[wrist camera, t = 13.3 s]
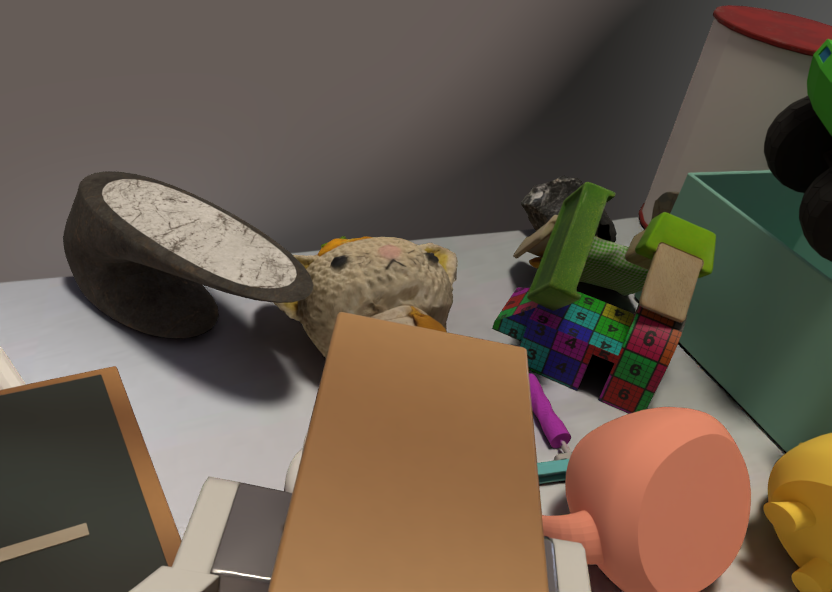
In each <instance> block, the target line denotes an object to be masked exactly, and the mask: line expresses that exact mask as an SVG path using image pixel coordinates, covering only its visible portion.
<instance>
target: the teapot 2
mask: <svg viewBox="0 0 832 592" xmlns="http://www.w3.org/2000/svg"><path fill="white" fill-rule="evenodd" d="M763 509H764V513H765V515H766V517H767V518H768V520H769V521H770V522H771V523H772V524H773V526H774V529H775V531H776V533H777V535H778V538H779V540H780V541H781V543H782V545H783V546H784V548H785V549H786V551H787V552H788V554H789V555H790V557H791V558H792V559H793V560H794V562H795V563H796V564H797V565H798V566H799V567H800V568H799V569H798V570H796V571H795V572H794V573H793V574H792V581H793V583H794V585H795V586H796V587H797V589H798V590H799V591H800V592H832V433H828V434H825V435H821V436H818V437H815V438H813V439H810V440H808V441H806V442H804V443H799V445H798V446H796V447H795V448H793V449H791V450H790V451H788V452H787V453H786V454H785V455H783V456H782V457H781V458H780V459H779V460H778V461H777V462H776V463H775V465H774V467H773V469H772V471H771V474H770V477H769V481H768V503H766V504H765V505H764V508H763Z"/></svg>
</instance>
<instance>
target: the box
mask: <svg viewBox="0 0 832 592" xmlns="http://www.w3.org/2000/svg"><path fill="white" fill-rule="evenodd" d="M803 195H804V193H800V192H796V191H794V190H792V189H790V188H788V187H786V186H784V185H782V184H781V183H780V182H779V181H778V180H777V179H776V178H775V177H774V176H773V174H772V172H771V171H770V170H761V171H729V172H696V173H688V174H687V177H686V179H685V181H684V184H683V186H682V188H681V190H680V193H679V195H678V197H677V200H676V202H675V204H674V206H673V209H672V211H671V213H670V214H672V215H674V216H676V217H679V218H681V219H683V220H686V221H688V222H690V223H692V224H695V225H697V226H699V227H702V228H704V229H706V230H709V231H711V232H713V233H714V234H715V235H716V244H715V254H714V264H713V271H712V273H711V274H709V275H707V276H704V277H701V278H698V279H697V282H696V286H695V289H694V292H693V296H692V299H691V302H690V305H689V308H688V312H687V319H686V323H685V326H684V329H683V332H682V334H681V337H680V340H679V342H680V343H681V344H682V345H683V346H684V347H685V348H686V349H687V350H688V352H689V353H690V354H691V355H692V356H693V357H694V358H695V359H696V360H697V361H698V362H699V363H700V364H701V365H702V366H703V367H704V368H705V369H706V370H707V371H708V372H709V373H710V374H711V375H712V376H713V377H714V378H715V379H716V380H717V381H718V382H719V383H720V384H721V385H722V386H723V387H724V388H725V390H726V391H727V392H728V393H729V394H730V395H731V396H732V397H733V398H734V399H735V400H736V401H737V402H738V403H739V404H740V405H741V406H742V407H743V408H744V409H745V410H746V411H747V412H748V413H749V414H750V415H751V416H752V417H753V418H754V419H755V420H756V421H757V422H758V423H759V424H760V425H761V427H762V428H763V429H764V430H765V431H766V432H767V433H768V434H769V435H770V436H771V437H772V438H773V439H774V440H775V441H776V442H777V443H778V444H779V445H780V446H781V447H782V448H783V449H784V450H785V451H786V452H788V451H790V450H791V449H793V448H795V447H796V446H798V445H799V443H804V442H806V441H808V440H810V439H813V438H815V437H818V436H821V435H825V434H828V433H832V262H831V261H829V260H827V259H825V258H823V257H821V256H820V255H819V254H818V253H817V252H816V251H815V250H814V249H813V248H812V247H811V246H810V245H809V243H808V241H807V240H806V238H805V236H804V234H803V231H802V228H801V224H800V221H799V207H800V204H801V201H802V198H803ZM641 293H642V290H641V291H639V292H637V293H635V295H634V296H635V297H636V298H637V299H638V300H640V296H641Z"/></svg>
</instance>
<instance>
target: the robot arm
mask: <svg viewBox="0 0 832 592" xmlns="http://www.w3.org/2000/svg"><path fill="white" fill-rule="evenodd" d="M291 497H292V493H289V492H285V491H280V490H275V489H270V488H265V487H260V486H255V485H250V484H246V483H241V482H235V481H230V480H225V479H219V478H214V477H208V478H207V480H206V481H205V483H204V484H203V486H202V489H201V491H200V494H199V497H198V499H197V502H196V505H195V507H194V510H193V513H192V515H191V518H190V520H189V523H188V526H187V528H186V531H185V534H184V536H183V539H182V541H181V544H180V547H179V549H178V552H177V555H176V557H175V560H174V562H173V565H172V567H168V566H161V567H160V568H158V569H157V570H156V571H155V572H153V573H152V574H151V575H150V576H148V577H147V578H146V579H144V580H143V581H142V582H141V583H139V584H138V585H137V586H135V587H134V588H133V589H132V590H130V591H129V592H268V588H269V584H270V580H271V576H272V572H273V568H274V564H275V560H276V556H277V552H278V548H279V544H280V540H281V536H282V532H283V528H284V524H285V520H286V516H287V512H288V508H289V504H290V501H291ZM544 544H545V555H546V566H547V577H548V588H549V592H591V586H590V579H589V572H588V566H587V559H586V552H585V549H584V547H583V545H582V544H581V543H578V542H572V541H566V540H560V539H554V538H549V537H547V536H544Z"/></svg>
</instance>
